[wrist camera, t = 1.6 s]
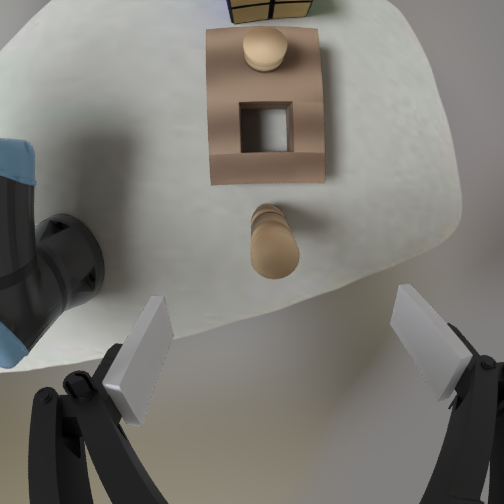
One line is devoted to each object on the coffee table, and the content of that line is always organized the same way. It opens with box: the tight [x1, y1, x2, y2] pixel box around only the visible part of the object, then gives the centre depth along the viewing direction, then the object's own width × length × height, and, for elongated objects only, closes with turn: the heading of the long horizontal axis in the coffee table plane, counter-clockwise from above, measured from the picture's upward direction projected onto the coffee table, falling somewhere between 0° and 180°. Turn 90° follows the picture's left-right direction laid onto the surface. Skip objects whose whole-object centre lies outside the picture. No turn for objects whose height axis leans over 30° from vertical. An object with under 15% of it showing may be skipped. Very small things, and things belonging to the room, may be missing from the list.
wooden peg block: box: [206, 26, 325, 185], centre depth 26 cm, size 18×12×10 cm, turn 2°
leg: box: [251, 204, 300, 279], centre depth 29 cm, size 4×4×14 cm
